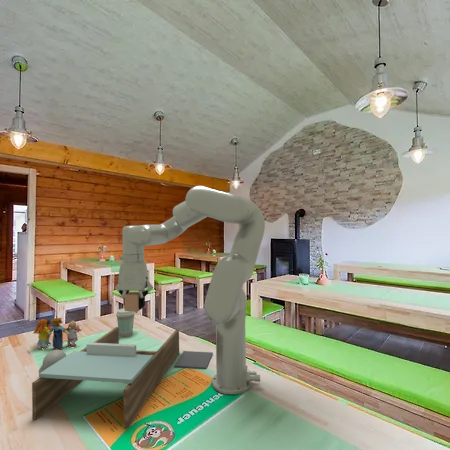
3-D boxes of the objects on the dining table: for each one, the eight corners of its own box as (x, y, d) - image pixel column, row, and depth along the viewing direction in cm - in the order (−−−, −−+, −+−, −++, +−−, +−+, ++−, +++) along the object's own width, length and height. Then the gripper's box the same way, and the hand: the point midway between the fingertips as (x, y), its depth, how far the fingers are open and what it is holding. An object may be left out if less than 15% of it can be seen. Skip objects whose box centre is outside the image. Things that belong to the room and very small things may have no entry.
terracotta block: (143, 307, 104) (143, 291, 104) (137, 311, 99) (137, 294, 99) (131, 307, 105) (131, 291, 105) (124, 311, 100) (124, 294, 100)
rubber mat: (212, 353, 110) (212, 352, 110) (206, 369, 98) (206, 367, 98) (183, 352, 112) (183, 351, 112) (173, 367, 100) (173, 365, 100)
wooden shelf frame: (179, 353, 111) (178, 329, 111) (127, 428, 69) (127, 389, 69) (116, 350, 115) (116, 326, 115) (32, 419, 73) (32, 382, 73)
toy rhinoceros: (59, 392, 90) (67, 369, 89) (33, 373, 93) (40, 351, 92) (77, 380, 97) (84, 358, 96) (52, 363, 100) (59, 342, 99)
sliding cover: (153, 358, 86) (152, 345, 86) (131, 383, 72) (131, 368, 72) (74, 354, 89) (73, 341, 89) (38, 377, 76) (38, 362, 76)
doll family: (83, 345, 121) (82, 315, 121) (67, 355, 111) (66, 322, 112) (41, 342, 124) (41, 313, 125) (22, 351, 115) (22, 320, 115)
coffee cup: (131, 338, 127) (131, 312, 127) (113, 338, 127) (112, 312, 127) (137, 331, 135) (137, 307, 136) (120, 331, 136) (120, 307, 136)
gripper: (106, 260, 100) (107, 310, 100) (151, 259, 98) (152, 311, 97) (117, 257, 107) (118, 304, 107) (159, 257, 105) (160, 305, 105)
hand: (134, 307), depth 102 cm, fingers closed on terracotta block, 5 cm apart
